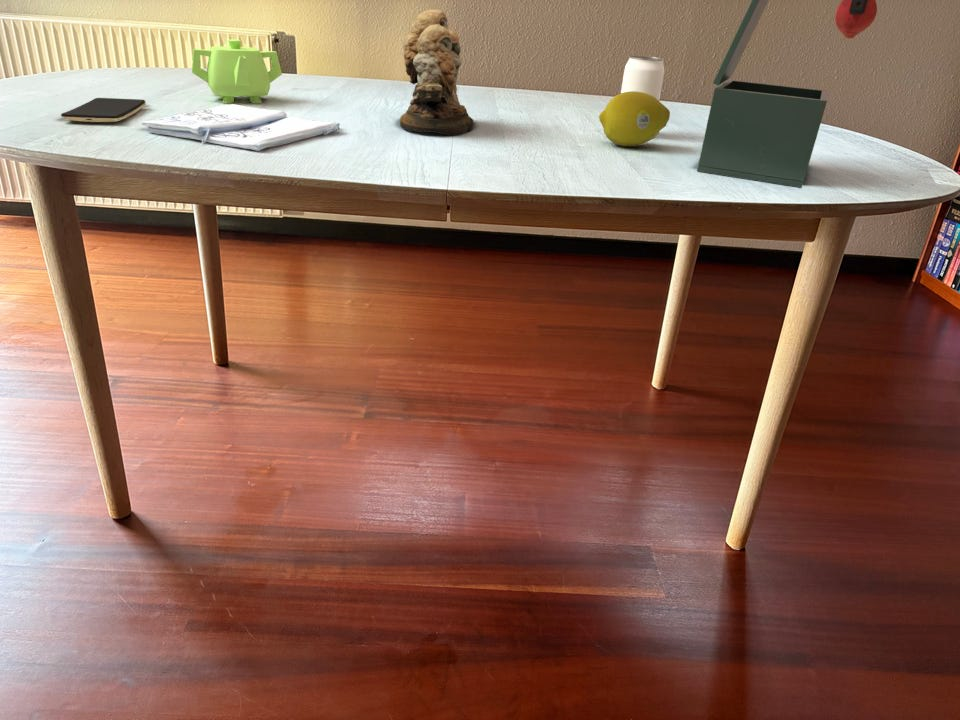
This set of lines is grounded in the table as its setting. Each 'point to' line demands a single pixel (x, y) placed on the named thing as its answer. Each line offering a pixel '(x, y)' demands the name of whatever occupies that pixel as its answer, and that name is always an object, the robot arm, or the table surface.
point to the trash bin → (762, 131)
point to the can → (643, 75)
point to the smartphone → (104, 110)
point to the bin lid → (740, 40)
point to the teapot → (237, 71)
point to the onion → (854, 18)
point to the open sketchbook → (240, 127)
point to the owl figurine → (434, 77)
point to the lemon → (633, 118)
